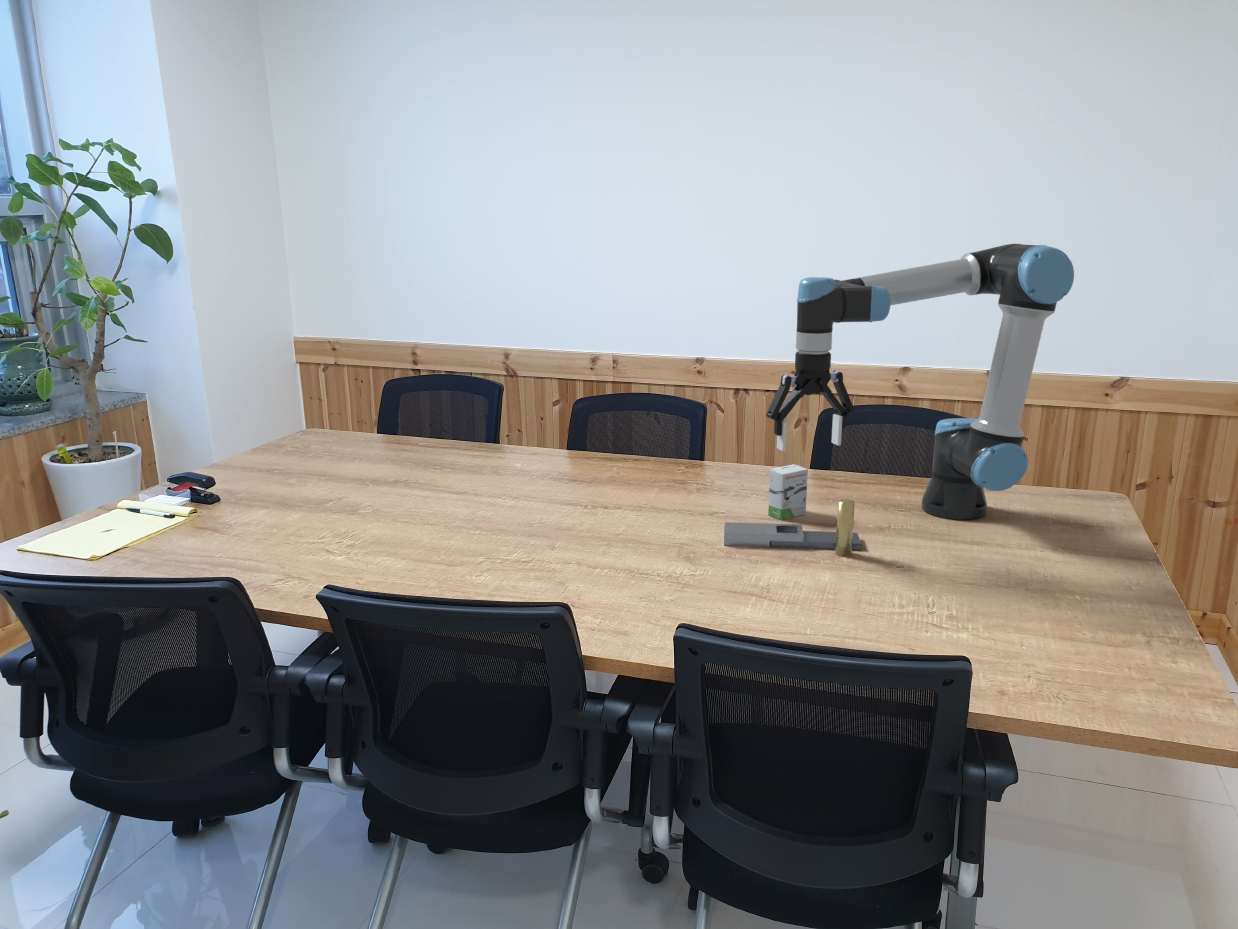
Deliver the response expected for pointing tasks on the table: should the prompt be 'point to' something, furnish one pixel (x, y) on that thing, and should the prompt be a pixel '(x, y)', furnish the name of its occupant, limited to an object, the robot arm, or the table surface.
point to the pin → (844, 527)
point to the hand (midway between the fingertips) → (808, 446)
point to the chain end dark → (817, 541)
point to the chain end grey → (760, 533)
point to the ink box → (787, 491)
